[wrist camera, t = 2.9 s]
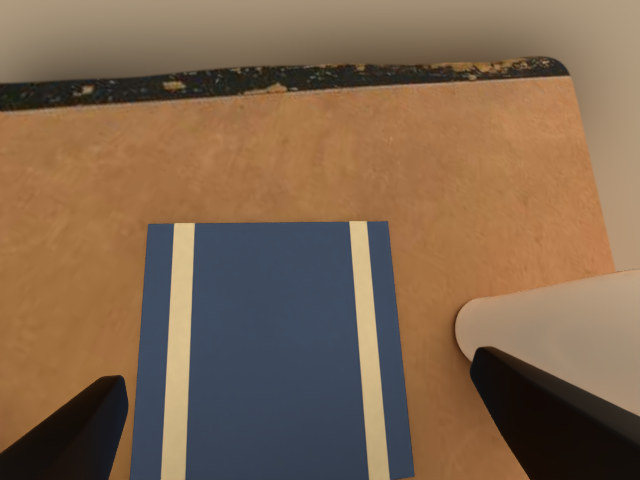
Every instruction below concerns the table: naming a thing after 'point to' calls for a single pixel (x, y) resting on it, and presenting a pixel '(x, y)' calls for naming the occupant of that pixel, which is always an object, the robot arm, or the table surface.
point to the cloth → (270, 354)
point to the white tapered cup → (567, 332)
